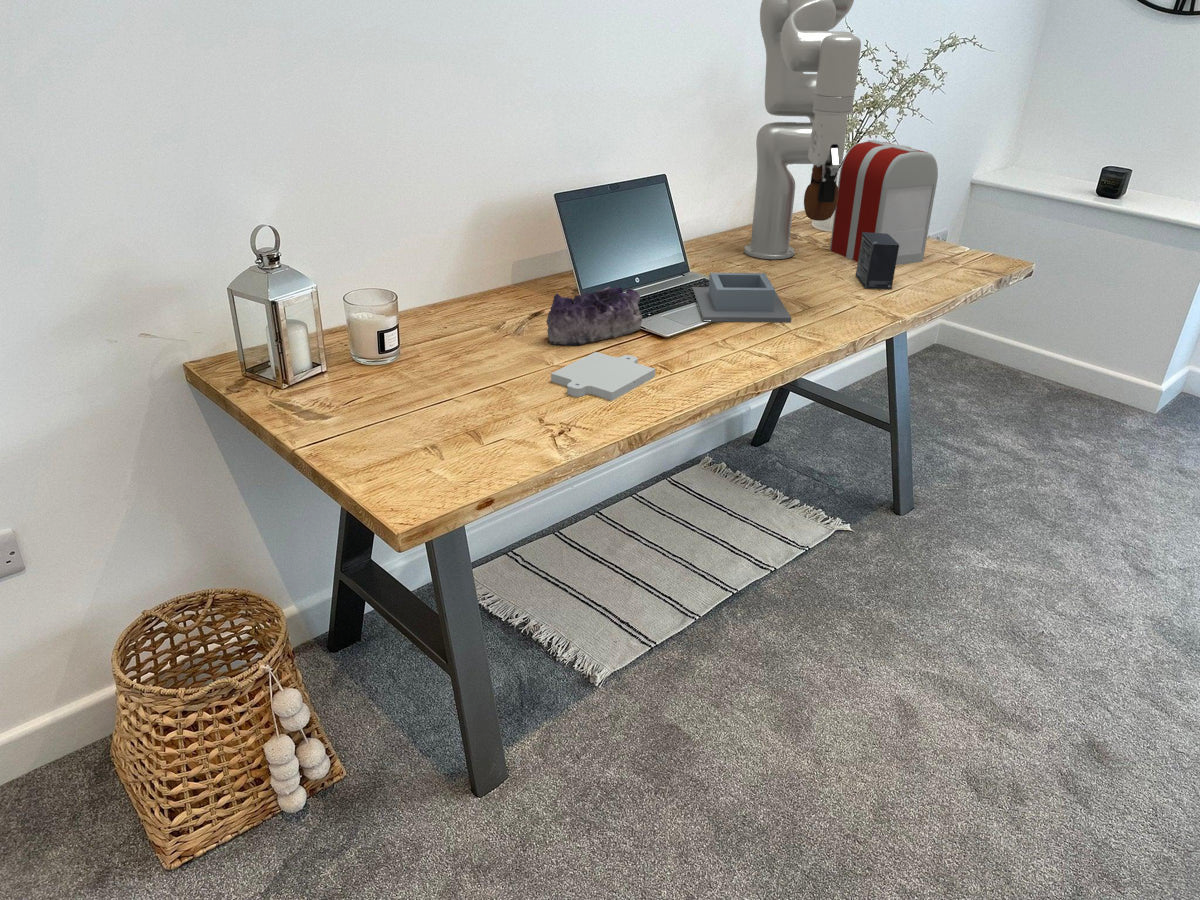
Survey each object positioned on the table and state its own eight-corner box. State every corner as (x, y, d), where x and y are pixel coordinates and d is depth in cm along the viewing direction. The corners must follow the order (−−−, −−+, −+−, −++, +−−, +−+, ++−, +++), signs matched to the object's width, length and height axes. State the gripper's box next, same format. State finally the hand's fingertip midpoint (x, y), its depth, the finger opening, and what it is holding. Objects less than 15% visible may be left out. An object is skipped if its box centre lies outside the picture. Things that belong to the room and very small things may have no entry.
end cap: (692, 291, 206) (693, 267, 204) (772, 292, 207) (775, 268, 204) (703, 321, 188) (704, 295, 186) (791, 322, 189) (794, 296, 186)
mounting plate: (603, 407, 152) (603, 397, 151) (541, 388, 158) (541, 377, 158) (662, 374, 165) (663, 364, 164) (603, 357, 171) (603, 347, 170)
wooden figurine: (814, 223, 187) (824, 147, 180) (796, 217, 191) (805, 142, 184) (840, 220, 190) (851, 144, 183) (822, 214, 194) (832, 139, 187)
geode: (571, 356, 171) (565, 303, 167) (536, 346, 180) (529, 295, 176) (653, 329, 182) (649, 279, 178) (616, 321, 191) (612, 273, 187)
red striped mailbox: (879, 244, 245) (895, 137, 233) (924, 261, 231) (945, 149, 218) (827, 249, 239) (841, 141, 227) (871, 268, 225) (889, 153, 212)
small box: (893, 289, 210) (901, 244, 205) (864, 289, 210) (871, 243, 205) (882, 276, 219) (889, 232, 214) (854, 275, 219) (860, 231, 214)
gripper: (804, 98, 188) (794, 187, 196) (824, 110, 172) (812, 207, 181) (841, 98, 188) (829, 188, 196) (864, 111, 173) (850, 208, 181)
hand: (821, 196), depth 188 cm, fingers closed on wooden figurine, 6 cm apart
